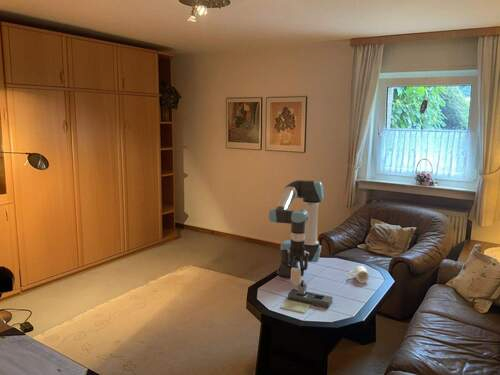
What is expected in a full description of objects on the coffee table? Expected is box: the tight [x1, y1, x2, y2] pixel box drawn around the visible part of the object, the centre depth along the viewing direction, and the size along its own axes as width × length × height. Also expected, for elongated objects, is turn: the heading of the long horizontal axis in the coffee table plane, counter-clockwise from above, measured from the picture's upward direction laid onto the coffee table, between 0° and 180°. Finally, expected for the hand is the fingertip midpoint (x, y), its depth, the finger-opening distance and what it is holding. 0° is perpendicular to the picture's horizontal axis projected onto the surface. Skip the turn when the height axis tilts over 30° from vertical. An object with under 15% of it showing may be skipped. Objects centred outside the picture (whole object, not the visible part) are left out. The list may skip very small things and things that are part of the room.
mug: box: [348, 265, 370, 283], centre depth 267 cm, size 12×10×8 cm
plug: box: [291, 267, 301, 286], centre depth 224 cm, size 4×4×8 cm
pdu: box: [287, 279, 334, 309], centre depth 233 cm, size 24×8×12 cm, turn 64°
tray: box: [279, 299, 311, 314], centre depth 226 cm, size 14×10×1 cm
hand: (296, 280), depth 224 cm, fingers closed on plug, 4 cm apart
